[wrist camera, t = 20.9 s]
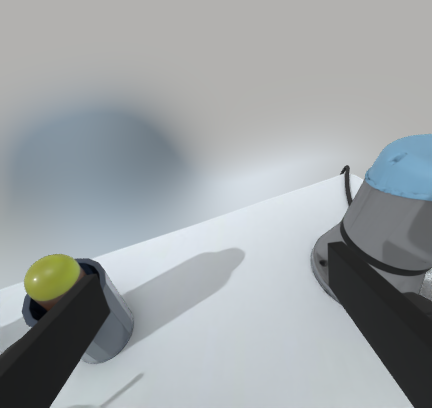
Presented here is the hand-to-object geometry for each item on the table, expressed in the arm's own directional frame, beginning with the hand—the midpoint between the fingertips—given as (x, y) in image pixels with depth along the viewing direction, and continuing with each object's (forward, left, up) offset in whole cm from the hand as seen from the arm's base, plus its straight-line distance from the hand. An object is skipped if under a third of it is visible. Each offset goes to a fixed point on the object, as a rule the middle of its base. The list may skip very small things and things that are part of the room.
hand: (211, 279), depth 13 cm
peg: (+7, -14, -22) cm, 27 cm away
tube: (+7, -14, -22) cm, 27 cm away
